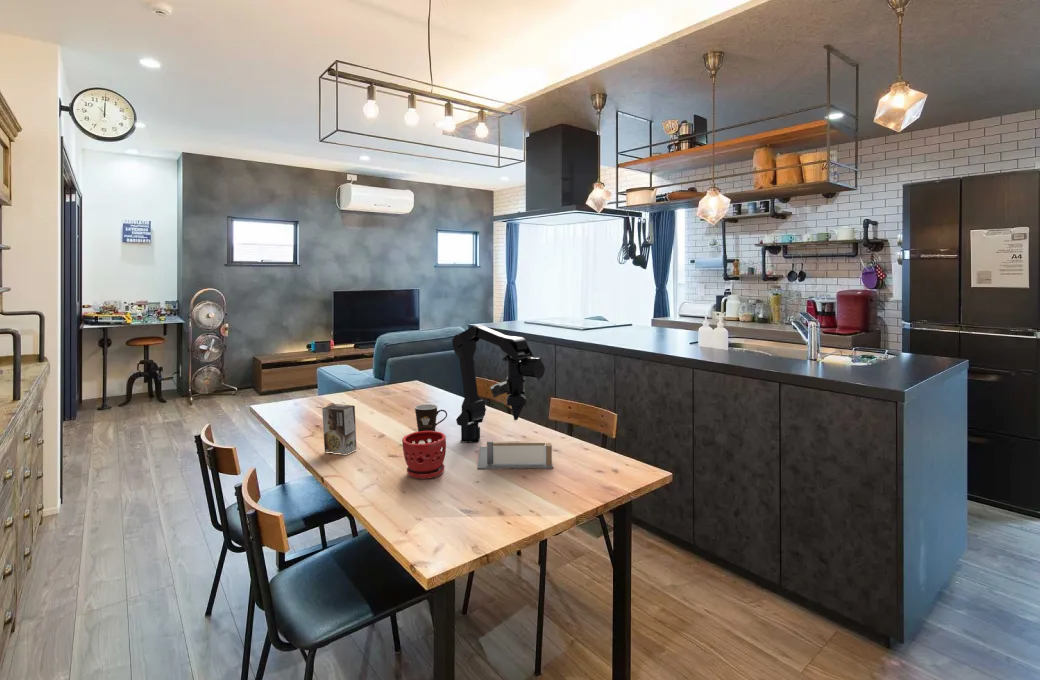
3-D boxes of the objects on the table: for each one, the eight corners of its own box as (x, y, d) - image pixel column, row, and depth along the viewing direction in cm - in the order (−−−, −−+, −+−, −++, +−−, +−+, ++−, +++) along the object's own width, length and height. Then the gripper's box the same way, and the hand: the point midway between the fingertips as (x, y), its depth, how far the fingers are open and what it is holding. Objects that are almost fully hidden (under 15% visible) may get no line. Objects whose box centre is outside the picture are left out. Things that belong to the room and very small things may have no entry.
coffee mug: (411, 433, 213) (410, 408, 211) (423, 427, 221) (422, 403, 219) (437, 437, 208) (436, 411, 207) (448, 431, 216) (448, 406, 215)
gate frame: (477, 469, 175) (477, 447, 174) (479, 448, 196) (479, 428, 195) (553, 468, 176) (553, 446, 175) (547, 447, 197) (547, 428, 196)
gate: (487, 464, 176) (486, 443, 176) (487, 462, 178) (487, 441, 177) (545, 463, 177) (545, 442, 176) (544, 461, 179) (544, 440, 178)
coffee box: (357, 450, 193) (355, 405, 191) (346, 456, 187) (344, 409, 185) (335, 447, 196) (333, 403, 194) (323, 453, 190) (321, 407, 188)
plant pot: (408, 466, 178) (407, 430, 176) (449, 466, 177) (448, 430, 176) (398, 481, 165) (397, 442, 163) (442, 482, 164) (441, 443, 163)
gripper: (492, 369, 196) (492, 412, 198) (491, 380, 177) (491, 427, 179) (523, 369, 196) (523, 412, 198) (526, 380, 178) (525, 427, 180)
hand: (515, 419), depth 189 cm, fingers closed
